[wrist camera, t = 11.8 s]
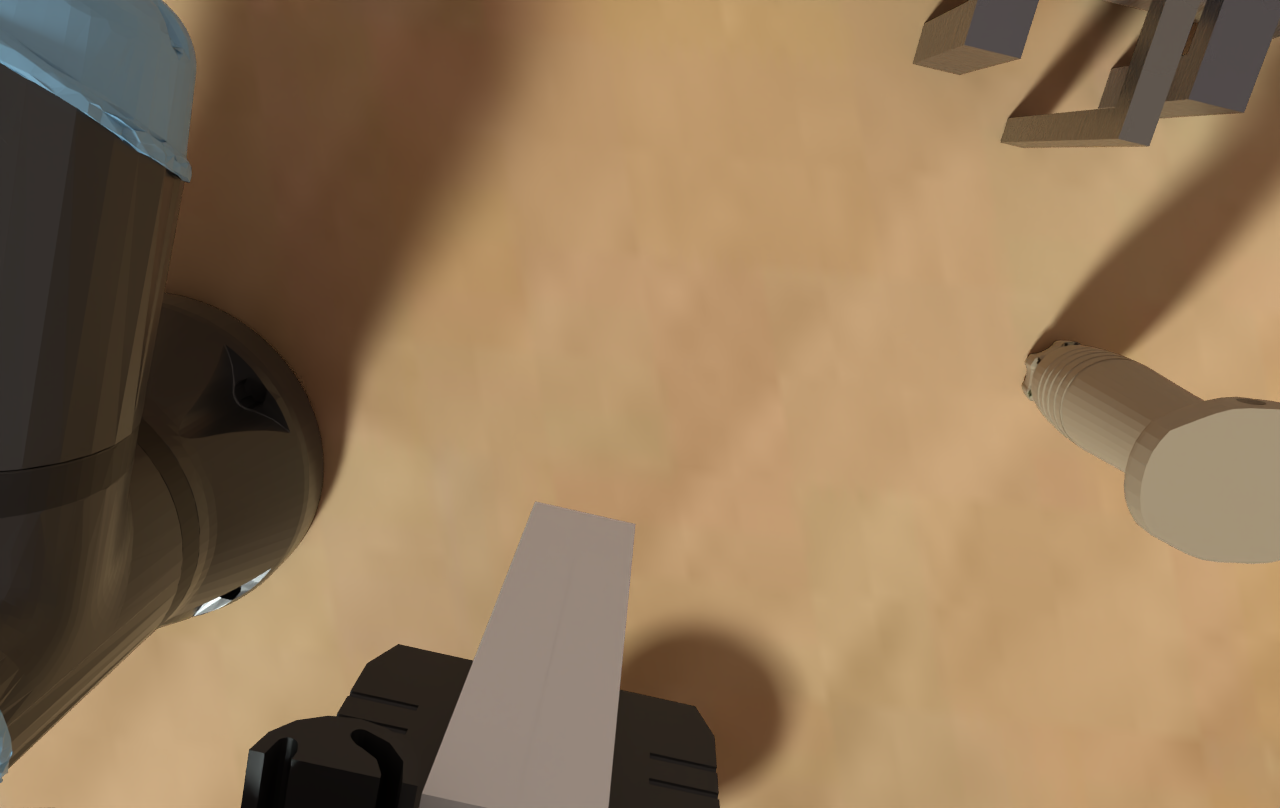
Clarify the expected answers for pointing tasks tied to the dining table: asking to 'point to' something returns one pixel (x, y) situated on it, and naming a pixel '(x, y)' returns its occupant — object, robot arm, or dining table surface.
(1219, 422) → the handle
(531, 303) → the dining table surface
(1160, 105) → the frame
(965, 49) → the dark grey arch
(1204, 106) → the collar
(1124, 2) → the tube
